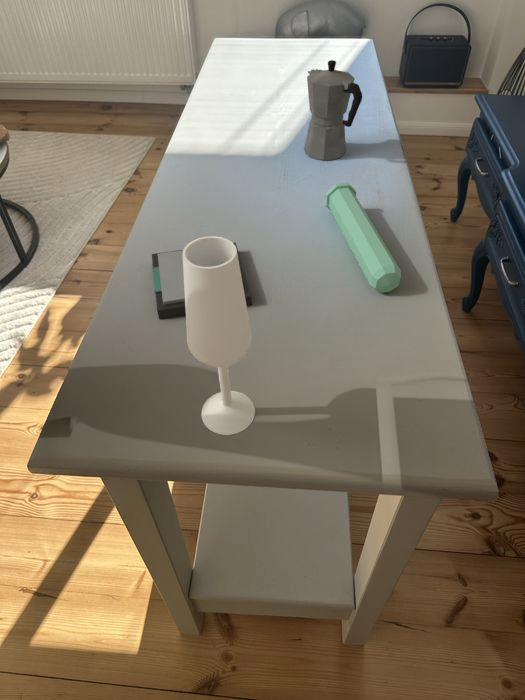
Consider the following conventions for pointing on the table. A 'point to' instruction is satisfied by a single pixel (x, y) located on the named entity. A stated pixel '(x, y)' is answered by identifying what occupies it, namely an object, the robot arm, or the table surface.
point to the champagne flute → (218, 326)
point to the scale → (178, 283)
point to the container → (363, 238)
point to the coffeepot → (330, 111)
